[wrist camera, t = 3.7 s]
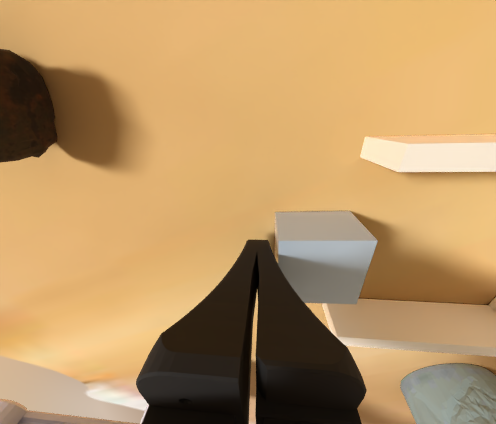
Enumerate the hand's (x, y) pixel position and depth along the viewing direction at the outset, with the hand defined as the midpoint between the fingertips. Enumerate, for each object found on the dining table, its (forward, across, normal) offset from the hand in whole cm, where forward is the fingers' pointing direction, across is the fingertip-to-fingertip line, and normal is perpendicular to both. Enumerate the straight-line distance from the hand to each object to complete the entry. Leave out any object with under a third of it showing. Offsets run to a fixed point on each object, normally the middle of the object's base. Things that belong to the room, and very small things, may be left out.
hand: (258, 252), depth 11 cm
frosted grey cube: (+1, -3, 0) cm, 4 cm away
